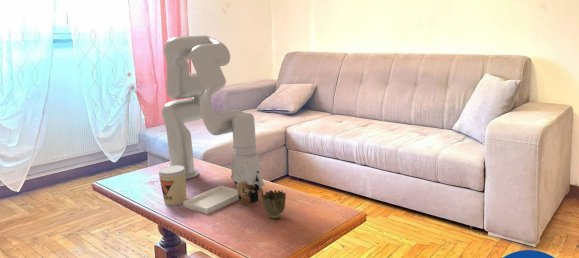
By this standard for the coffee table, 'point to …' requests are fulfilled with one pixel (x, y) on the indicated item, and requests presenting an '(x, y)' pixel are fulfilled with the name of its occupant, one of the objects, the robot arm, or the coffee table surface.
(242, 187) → the lion figurine
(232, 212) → the coffee table surface
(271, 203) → the cup
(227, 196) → the cream tray
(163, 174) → the coffee cup
